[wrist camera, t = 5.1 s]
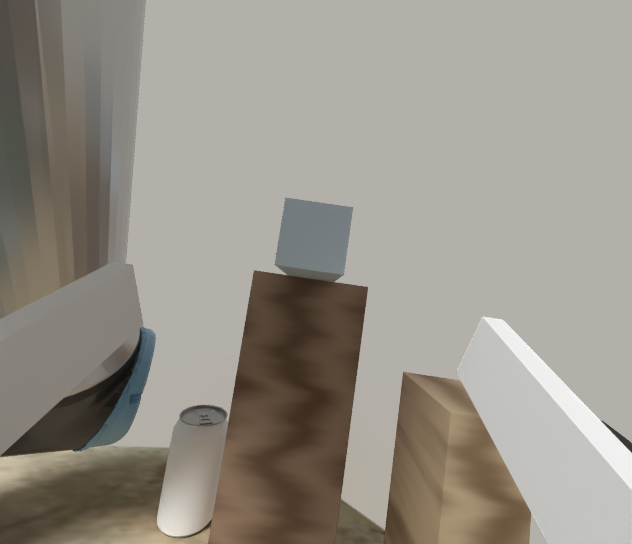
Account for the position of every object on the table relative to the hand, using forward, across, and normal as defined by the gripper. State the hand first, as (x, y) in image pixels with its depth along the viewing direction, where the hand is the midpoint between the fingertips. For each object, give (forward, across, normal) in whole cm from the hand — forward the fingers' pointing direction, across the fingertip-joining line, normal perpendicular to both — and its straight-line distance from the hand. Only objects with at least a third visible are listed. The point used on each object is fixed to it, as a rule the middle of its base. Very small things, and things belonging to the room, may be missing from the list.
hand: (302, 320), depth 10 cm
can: (+8, -11, -36) cm, 39 cm away
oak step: (-2, +14, -31) cm, 34 cm away
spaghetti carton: (+15, 0, -6) cm, 16 cm away
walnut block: (+2, 0, -33) cm, 33 cm away
